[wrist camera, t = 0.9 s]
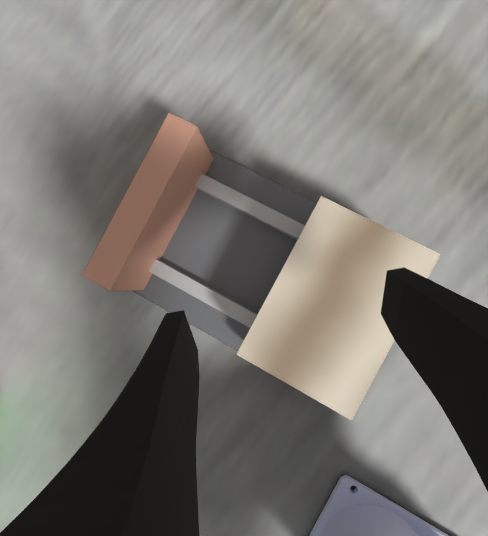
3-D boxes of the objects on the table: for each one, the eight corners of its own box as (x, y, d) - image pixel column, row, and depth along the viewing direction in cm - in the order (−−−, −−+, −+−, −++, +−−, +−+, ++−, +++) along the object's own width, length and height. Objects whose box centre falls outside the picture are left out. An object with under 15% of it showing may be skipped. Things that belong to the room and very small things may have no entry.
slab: (411, 253, 20) (444, 245, 16) (332, 400, 20) (347, 428, 16) (315, 206, 21) (325, 187, 17) (240, 347, 21) (232, 362, 17)
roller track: (421, 259, 22) (475, 250, 16) (343, 406, 22) (368, 451, 16) (184, 142, 24) (155, 97, 18) (113, 275, 24) (61, 273, 18)
